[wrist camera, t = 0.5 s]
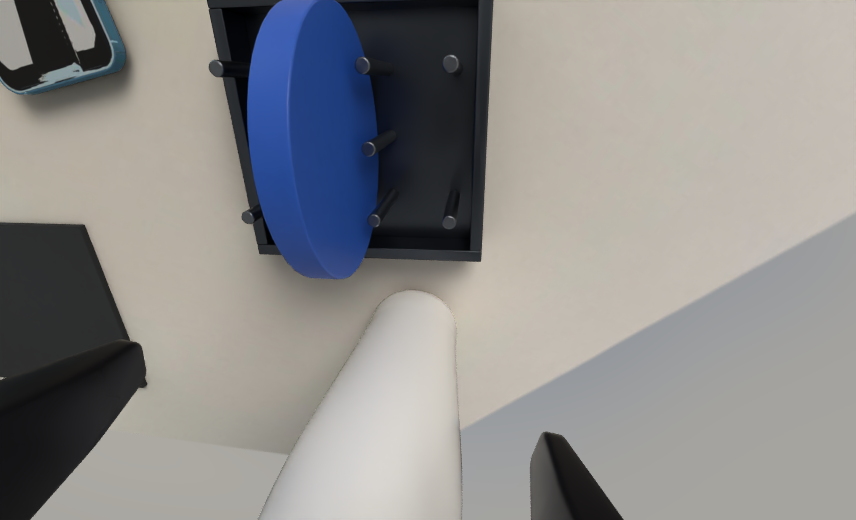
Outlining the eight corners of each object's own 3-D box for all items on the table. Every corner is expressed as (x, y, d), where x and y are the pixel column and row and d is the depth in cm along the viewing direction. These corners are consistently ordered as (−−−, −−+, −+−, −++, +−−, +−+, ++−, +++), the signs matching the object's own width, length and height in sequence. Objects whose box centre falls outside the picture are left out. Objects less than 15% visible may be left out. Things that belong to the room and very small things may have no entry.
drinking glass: (488, 340, 25) (501, 647, 11) (401, 378, 27) (325, 676, 14) (432, 256, 23) (366, 505, 9) (343, 304, 25) (185, 564, 12)
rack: (492, -8, 17) (497, -42, 13) (480, 243, 22) (481, 287, 18) (238, 3, 19) (156, -25, 14) (280, 237, 24) (230, 276, 19)
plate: (370, 20, 18) (259, -47, 9) (383, 229, 22) (317, 332, 13) (345, 21, 18) (208, -44, 9) (362, 228, 22) (282, 330, 13)
